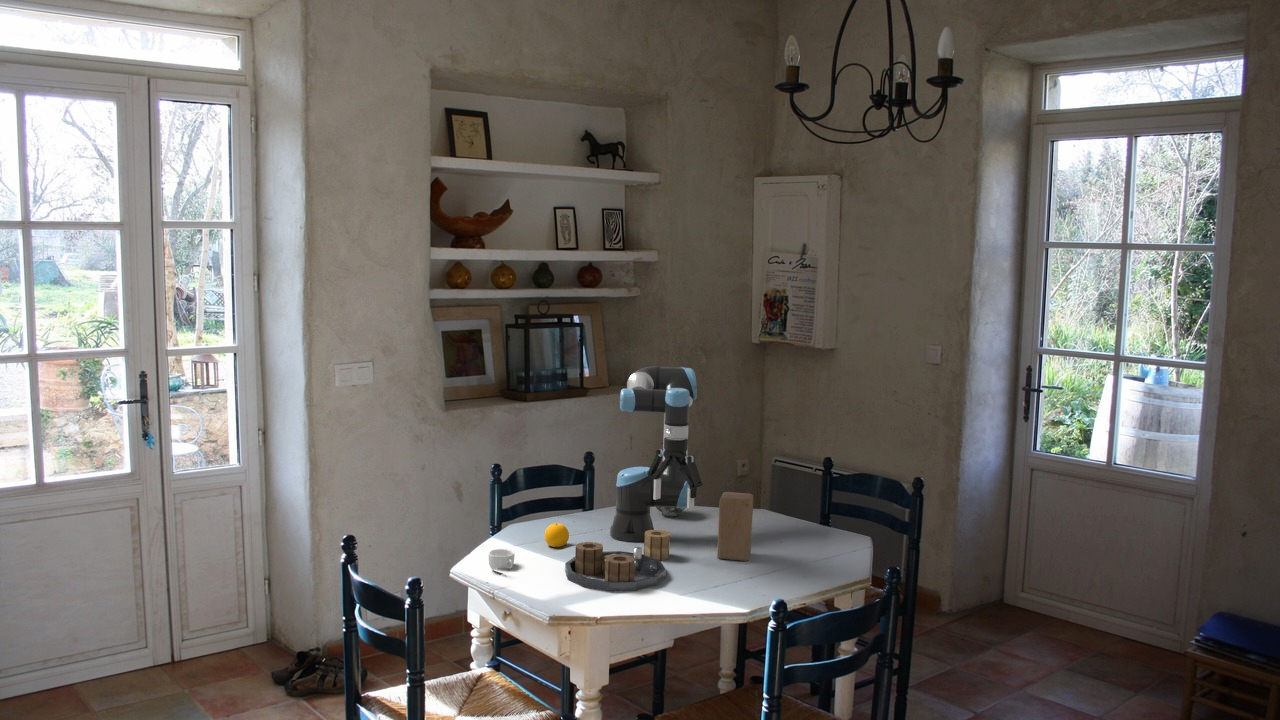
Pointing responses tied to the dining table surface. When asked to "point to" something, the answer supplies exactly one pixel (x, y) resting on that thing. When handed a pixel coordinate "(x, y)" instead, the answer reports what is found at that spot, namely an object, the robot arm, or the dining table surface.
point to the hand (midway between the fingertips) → (673, 503)
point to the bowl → (670, 511)
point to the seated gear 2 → (619, 568)
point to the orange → (556, 535)
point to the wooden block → (735, 526)
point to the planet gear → (657, 544)
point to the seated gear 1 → (588, 558)
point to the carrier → (644, 577)
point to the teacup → (501, 559)
